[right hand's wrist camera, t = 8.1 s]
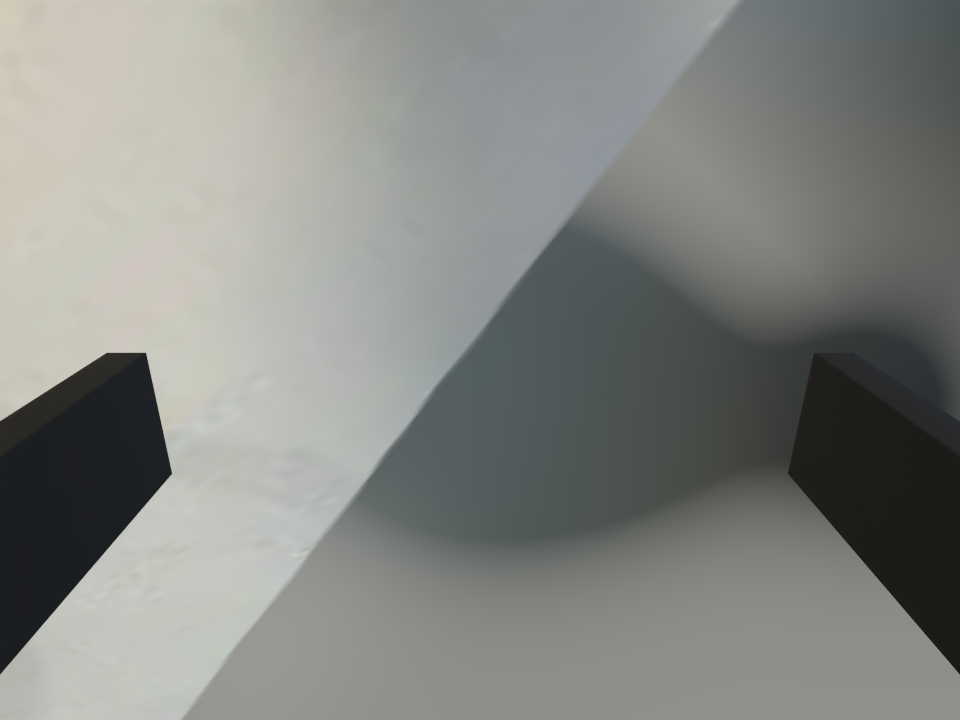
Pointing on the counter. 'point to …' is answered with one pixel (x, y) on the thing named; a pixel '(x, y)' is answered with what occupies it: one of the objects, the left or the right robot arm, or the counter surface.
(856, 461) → the right robot arm
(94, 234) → the counter surface
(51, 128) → the counter surface
